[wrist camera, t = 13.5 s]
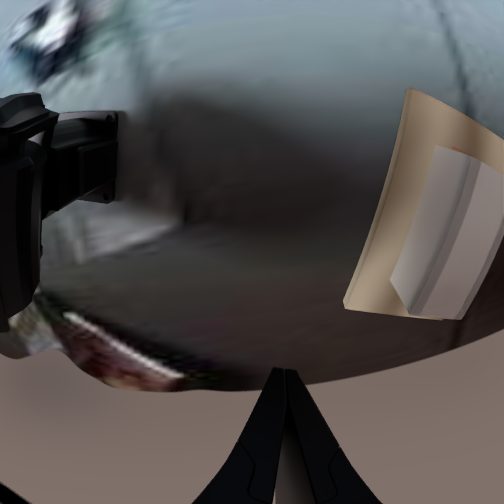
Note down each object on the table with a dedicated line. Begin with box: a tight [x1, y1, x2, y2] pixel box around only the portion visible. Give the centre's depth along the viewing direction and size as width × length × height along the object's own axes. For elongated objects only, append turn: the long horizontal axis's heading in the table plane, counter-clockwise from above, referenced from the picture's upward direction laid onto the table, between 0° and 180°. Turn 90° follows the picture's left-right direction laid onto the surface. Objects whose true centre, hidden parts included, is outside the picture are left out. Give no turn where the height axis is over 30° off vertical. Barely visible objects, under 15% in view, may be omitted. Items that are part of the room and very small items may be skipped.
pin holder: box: [343, 88, 504, 320], centre depth 15 cm, size 10×16×4 cm, turn 170°
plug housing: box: [390, 145, 504, 320], centre depth 14 cm, size 5×10×4 cm, turn 171°
